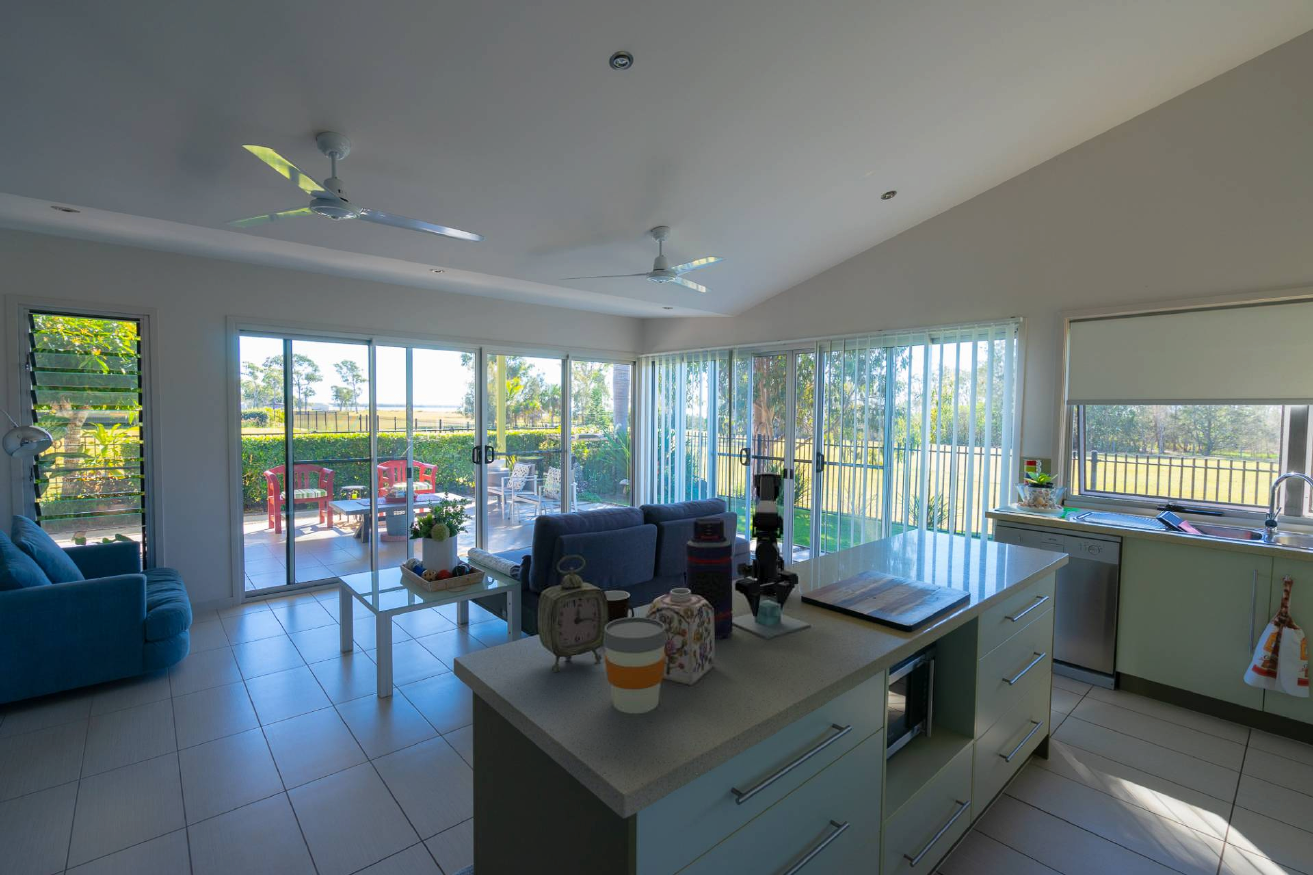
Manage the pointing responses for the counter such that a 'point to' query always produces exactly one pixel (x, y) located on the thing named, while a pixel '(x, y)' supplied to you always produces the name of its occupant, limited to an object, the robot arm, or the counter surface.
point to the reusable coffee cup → (635, 662)
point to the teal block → (768, 613)
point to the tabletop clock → (572, 616)
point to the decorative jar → (686, 634)
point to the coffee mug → (618, 605)
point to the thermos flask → (711, 570)
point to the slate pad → (770, 631)
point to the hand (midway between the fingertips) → (767, 613)
